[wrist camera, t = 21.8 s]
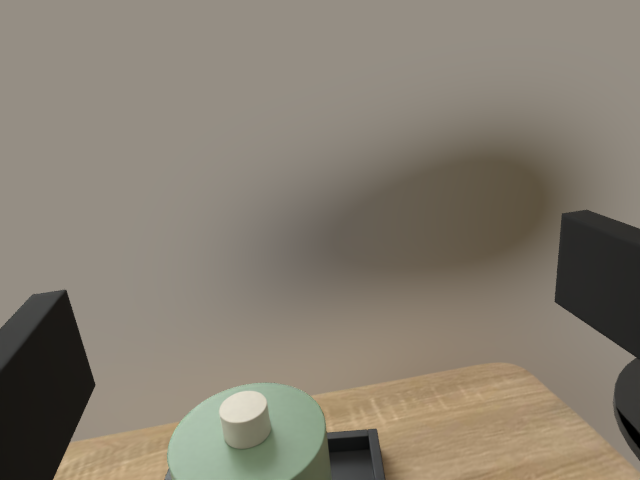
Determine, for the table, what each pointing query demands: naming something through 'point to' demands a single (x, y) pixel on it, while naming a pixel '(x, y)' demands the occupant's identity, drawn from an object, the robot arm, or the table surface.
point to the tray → (352, 455)
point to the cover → (252, 437)
